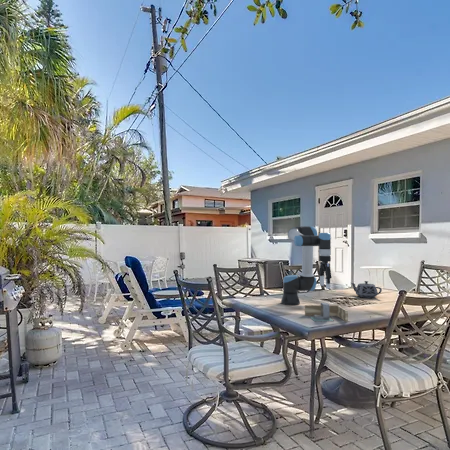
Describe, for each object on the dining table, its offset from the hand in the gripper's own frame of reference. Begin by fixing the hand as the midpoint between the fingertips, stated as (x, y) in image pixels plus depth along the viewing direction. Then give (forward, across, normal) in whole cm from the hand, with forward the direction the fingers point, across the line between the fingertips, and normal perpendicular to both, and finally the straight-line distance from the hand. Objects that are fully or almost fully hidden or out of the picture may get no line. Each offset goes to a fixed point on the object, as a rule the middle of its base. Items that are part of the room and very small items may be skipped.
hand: (325, 287), depth 222 cm
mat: (+22, +1, -2) cm, 22 cm away
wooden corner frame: (+22, -3, +1) cm, 22 cm away
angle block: (+21, +1, -3) cm, 21 cm away
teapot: (+23, -87, +64) cm, 111 cm away
